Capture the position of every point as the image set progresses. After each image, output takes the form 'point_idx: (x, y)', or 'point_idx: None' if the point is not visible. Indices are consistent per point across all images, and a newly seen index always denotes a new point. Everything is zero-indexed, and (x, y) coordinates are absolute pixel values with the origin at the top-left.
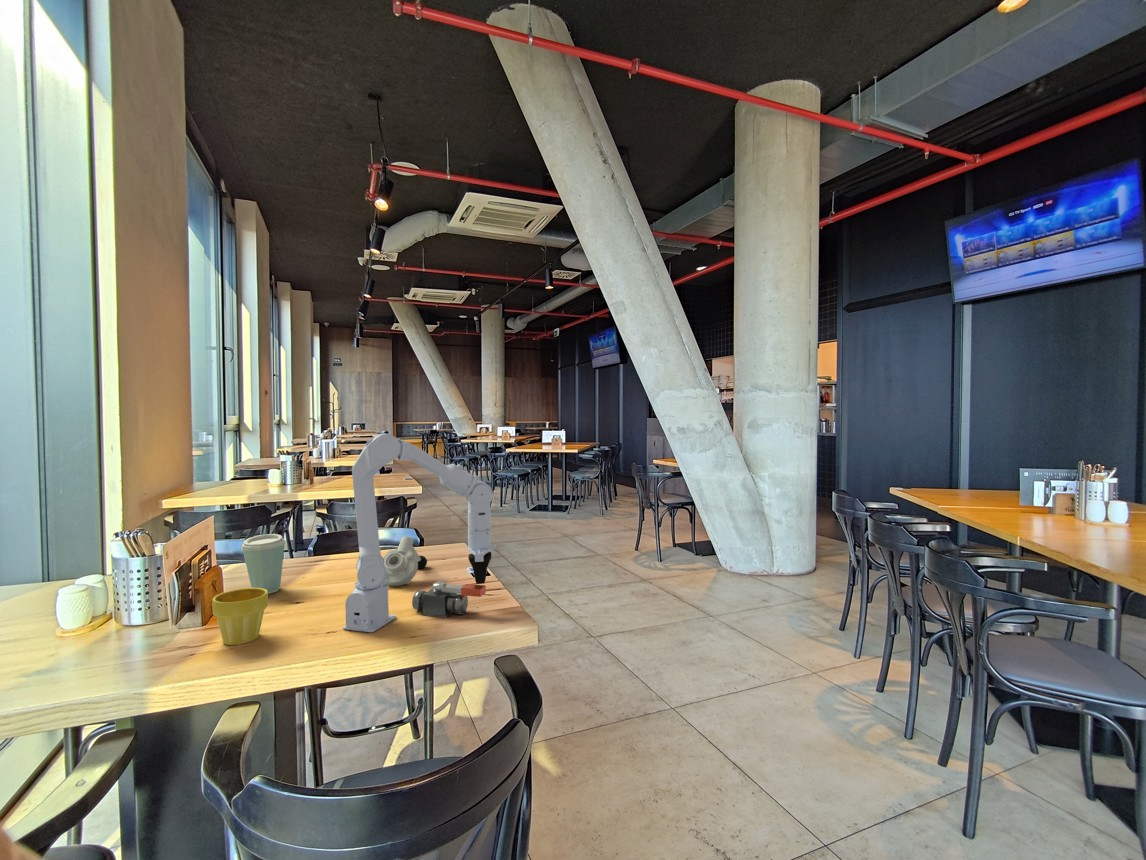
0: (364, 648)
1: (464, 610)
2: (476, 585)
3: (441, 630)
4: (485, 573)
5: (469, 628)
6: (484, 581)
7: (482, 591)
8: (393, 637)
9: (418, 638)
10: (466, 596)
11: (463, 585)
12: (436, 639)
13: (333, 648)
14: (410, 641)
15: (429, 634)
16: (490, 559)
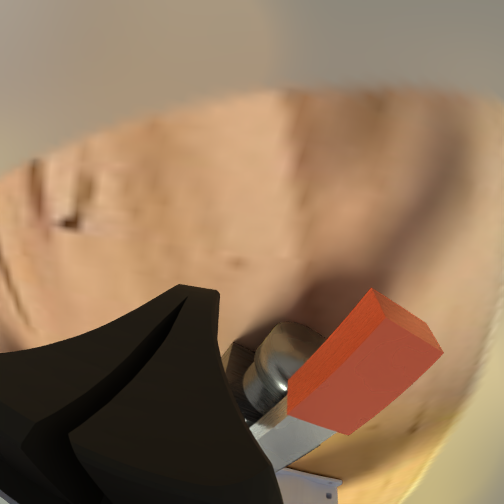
0: (407, 472)
1: (302, 331)
2: (350, 373)
3: (418, 385)
4: (215, 338)
5: (454, 313)
6: (217, 298)
7: (414, 324)
8: (389, 454)
9: (429, 420)
10: (283, 360)
11: (284, 420)
12: (462, 387)
13: (376, 495)
14: (433, 429)
15: (424, 405)
16: (263, 473)
